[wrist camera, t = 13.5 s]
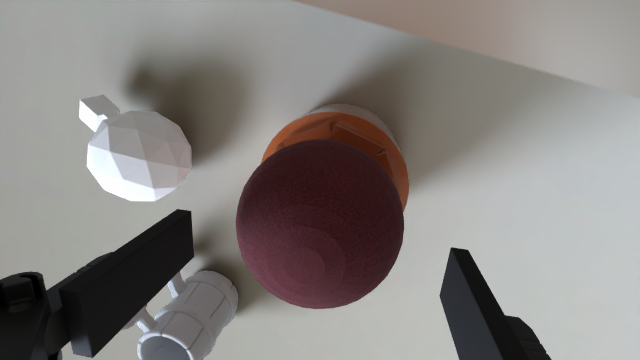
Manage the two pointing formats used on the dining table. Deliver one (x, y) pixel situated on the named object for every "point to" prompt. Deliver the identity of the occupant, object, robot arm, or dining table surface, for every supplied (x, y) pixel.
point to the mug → (187, 318)
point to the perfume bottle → (134, 150)
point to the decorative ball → (320, 224)
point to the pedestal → (349, 138)
